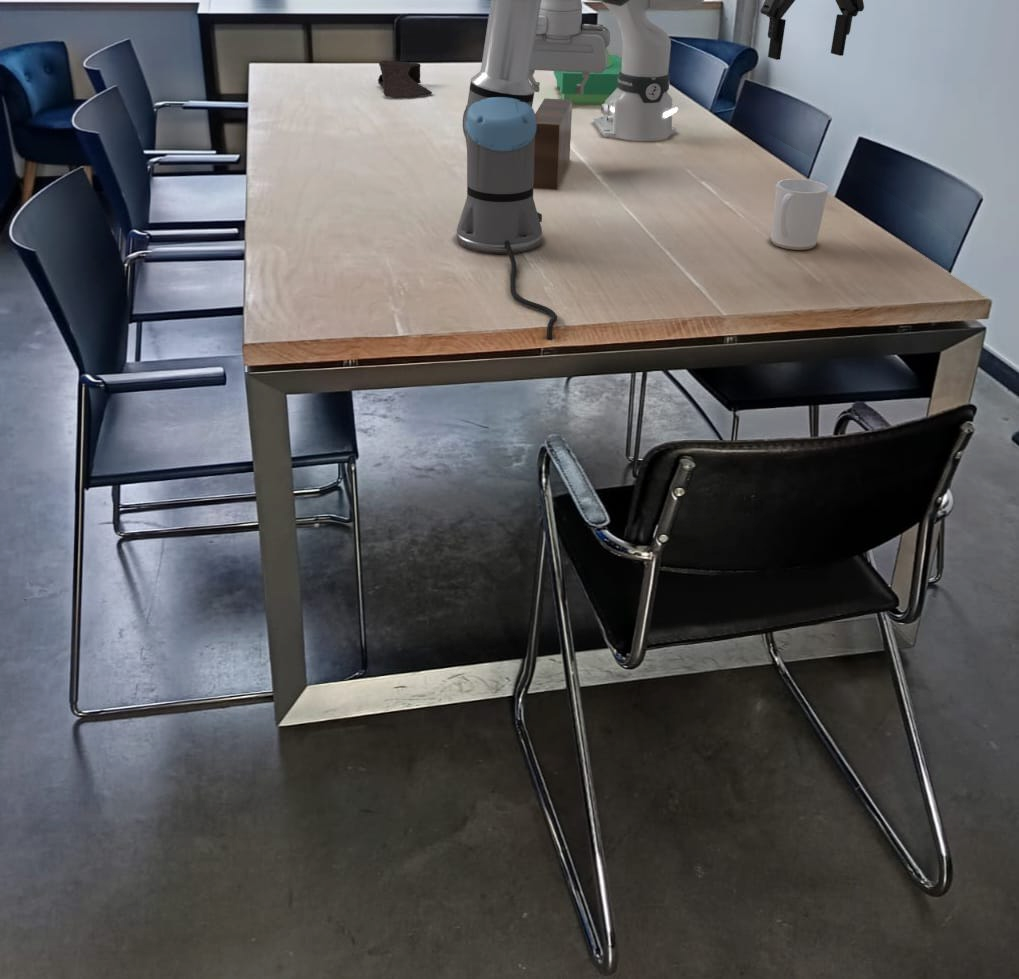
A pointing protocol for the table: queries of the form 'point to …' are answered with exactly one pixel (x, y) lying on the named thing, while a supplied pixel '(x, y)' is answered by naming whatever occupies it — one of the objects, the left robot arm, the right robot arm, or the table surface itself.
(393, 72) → the axe head
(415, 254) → the table surface
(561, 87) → the toy tank
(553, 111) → the box
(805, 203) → the mug
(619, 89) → the right robot arm
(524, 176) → the left robot arm
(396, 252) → the table surface
